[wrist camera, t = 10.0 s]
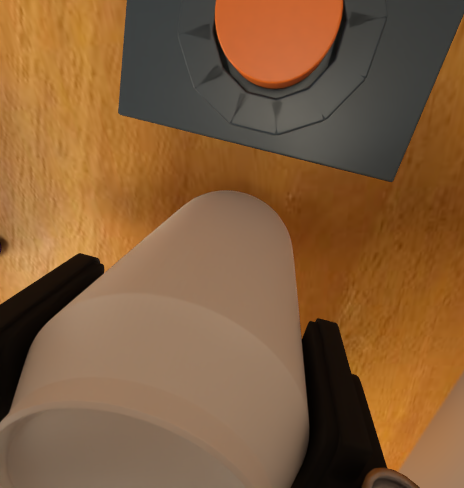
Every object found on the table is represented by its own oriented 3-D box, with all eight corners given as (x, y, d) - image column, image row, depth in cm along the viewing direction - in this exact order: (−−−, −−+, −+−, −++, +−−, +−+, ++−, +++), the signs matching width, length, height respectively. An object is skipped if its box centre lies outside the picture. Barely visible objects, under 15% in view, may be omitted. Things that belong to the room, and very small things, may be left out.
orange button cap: (350, -26, 10) (364, -55, 8) (313, 99, 11) (319, 95, 10) (237, -51, 10) (229, -83, 8) (214, 76, 11) (203, 68, 10)
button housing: (448, -22, 13) (540, -101, 8) (372, 171, 16) (409, 192, 11) (167, -82, 14) (109, -186, 9) (146, 115, 17) (94, 113, 12)
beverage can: (315, 217, 15) (411, 488, 4) (261, 317, 17) (226, 660, 6) (194, 164, 15) (-54, 289, 4) (157, 271, 17) (-63, 538, 6)
